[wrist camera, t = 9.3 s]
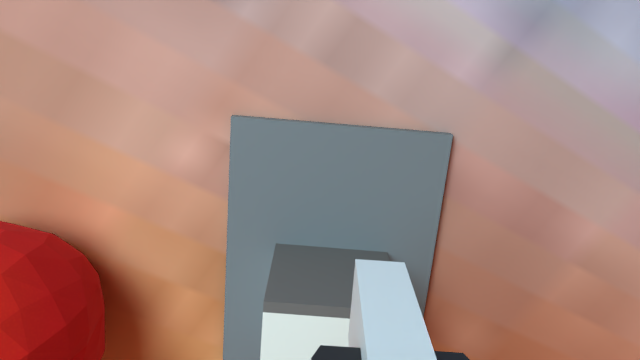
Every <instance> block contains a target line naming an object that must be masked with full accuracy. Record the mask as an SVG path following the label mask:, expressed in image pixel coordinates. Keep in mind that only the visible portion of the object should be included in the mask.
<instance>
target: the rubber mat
mask: <svg viewBox="0 0 640 360" xmlns="http://www.w3.org/2000/svg"><path fill="white" fill-rule="evenodd" d="M452 138H453V135H452V134H451V133H443V132H431V131H419V130H407V129H395V128H383V127H371V126H359V125H347V124H335V123H323V122H311V121H299V120H287V119H275V118H263V117H251V116H239V115H232V116H231V136H230V165H229V195H228V225H227V254H226V284H225V314H224V344H223V360H260V352H261V335H262V319H263V302H264V297H265V292H266V287H267V283H268V278H269V273H270V268H271V264H272V259H273V254H274V249H275V245H276V243H278V244H290V245H303V246H316V247H329V248H342V249H354V250H367V251H380V252H387V254H388V257H389V260H390V261H391V262H405V265H406V268H407V271H408V274H409V277H410V280H411V283H412V286H413V289H414V292H415V295H416V298H417V301H418V304H419V307H420V310H421V313H422V316H424V310H425V304H426V298H427V292H428V286H429V280H430V273H431V267H432V261H433V255H434V249H435V243H436V237H437V230H438V224H439V218H440V212H441V206H442V200H443V193H444V187H445V181H446V175H447V169H448V163H449V157H450V150H451V144H452Z"/></svg>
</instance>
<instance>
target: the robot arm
mask: <svg viewBox="0 0 640 360" xmlns="http://www.w3.org/2000/svg"><path fill="white" fill-rule="evenodd" d="M348 341H349V347H341V346H326V345H320V346H319V348H318V349H317V351H316V352H315V353H314V355H313V356H312V358H311V360H469V359H468V358H467V357H466V356H465V355H464V354H463V353H454V352H439V351H434V349H433V346H432V343H431V340H430V337H429V334H428V331H427V328H426V325H425V322H424V319H423V316H422V313H421V310H420V307H419V304H418V301H417V298H416V295H415V292H414V289H413V286H412V283H411V280H410V277H409V274H408V271H407V268H406V265H405V262H391V261H376V260H361V259H355V269H354V280H353V291H352V301H351V312H350V322H349V333H348Z"/></svg>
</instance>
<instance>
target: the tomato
mask: <svg viewBox="0 0 640 360" xmlns="http://www.w3.org/2000/svg"><path fill="white" fill-rule="evenodd" d="M104 351H105V303H104V298H103V293H102V289H101V284H100V279H99V274H98V273H97V272H96V270H95V269H94V267H93V266H92V265H91V263H90V262H89V261H88V259H87V258H86V257H85V255H84V254H82V253H81V252H80V251H78V250H77V249H75V248H74V247H72V246H71V245H70V244H68V243H67V242H65V241H64V240H62V239H61V238H59V237H58V236H56V235H55V234H51V233H47V232H43V231H39V230H35V229H31V228H28V227H24V226H20V225H16V224H11V223H7V222H2V221H0V360H101V358H102V356H103V353H104Z"/></svg>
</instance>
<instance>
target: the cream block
mask: <svg viewBox="0 0 640 360" xmlns="http://www.w3.org/2000/svg"><path fill="white" fill-rule="evenodd" d="M355 259H361V260H376V261H390V260H389V257H388V254H387V252H380V251H367V250H354V249H342V248H329V247H316V246H303V245H290V244H278V243H276V245H275V249H274V254H273V259H272V264H271V268H270V273H269V278H268V283H267V287H266V292H265V297H264V302H263V319H262V335H261V352H260V360H311V358H312V356H313V355H314V353H315V352H316V351H317V349H318V348H319V346H320V345H326V346H341V347H349V341H348V333H349V322H350V312H351V301H352V291H353V280H354V269H355Z"/></svg>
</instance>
